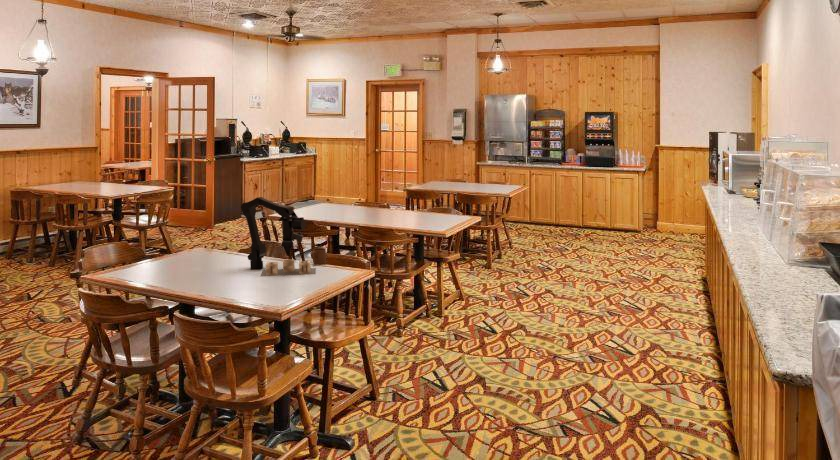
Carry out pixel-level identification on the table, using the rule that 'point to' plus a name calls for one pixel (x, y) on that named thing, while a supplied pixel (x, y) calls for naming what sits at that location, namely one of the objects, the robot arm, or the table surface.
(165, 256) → the table surface
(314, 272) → the mat
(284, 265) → the plain block
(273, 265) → the marked block left
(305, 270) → the marked block right
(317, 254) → the mug
